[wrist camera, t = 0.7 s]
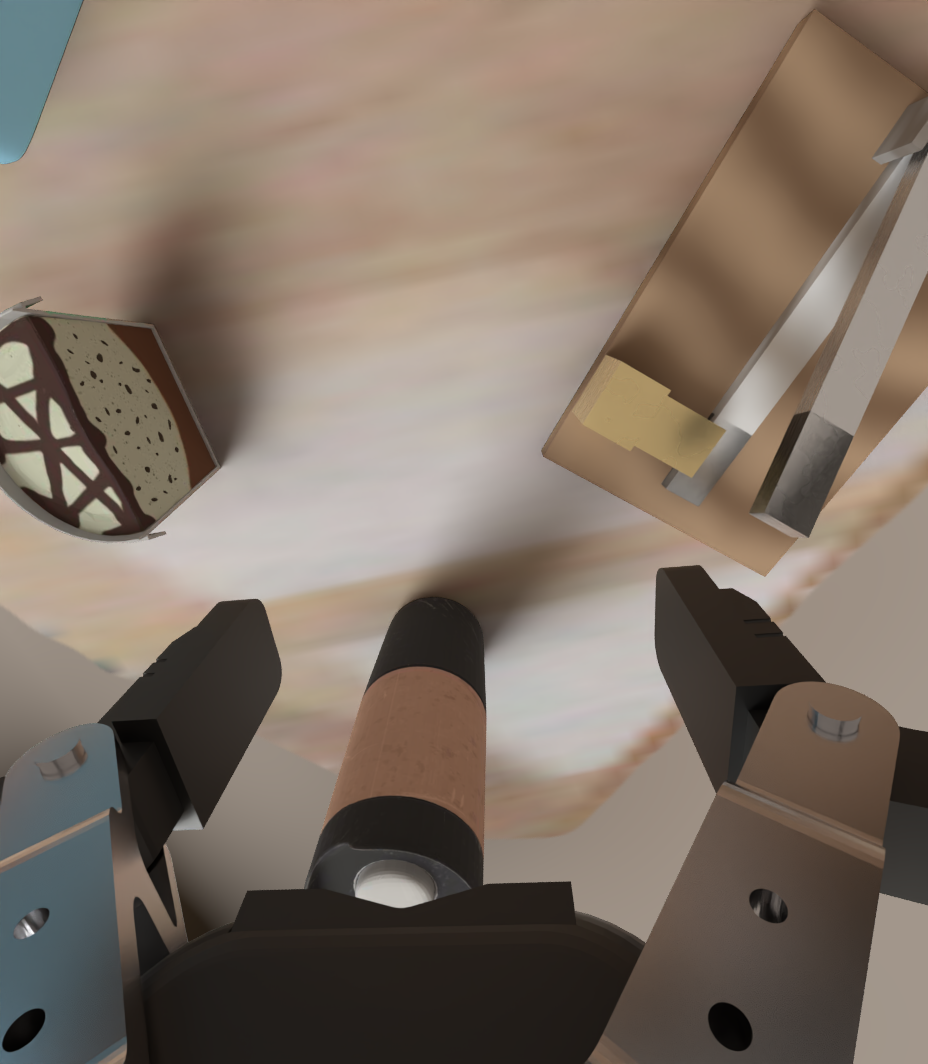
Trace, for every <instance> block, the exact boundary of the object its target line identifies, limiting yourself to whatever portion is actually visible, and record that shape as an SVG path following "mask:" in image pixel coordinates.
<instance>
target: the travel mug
mask: <svg viewBox="0 0 928 1064" xmlns="http://www.w3.org/2000/svg"><path fill="white" fill-rule="evenodd" d="M485 763H486V693H485V667H484V644H483V635H482V630H481V627H480V625H479V623H478V621H477V620H476V618H475V617H474V615H473V614H472V613H471V612H470V611H469V610H468V609H467V608H465V607H464V606H462V605H461V604H459V603H457V602H454V601H452V600H449V599H445V598H437V597H430V598H423V599H419V600H416V601H413V602H411V603H409V604H407V605H406V606H405V607H403V608H402V609H401V610H400V611H399V612H398V613H397V614H396V615H395V617H394V618H393V620H392V622H391V624H390V626H389V629H388V631H387V634H386V636H385V639H384V642H383V644H382V647H381V650H380V652H379V655H378V658H377V660H376V663H375V666H374V669H373V671H372V674H371V677H370V679H369V682H368V685H367V687H366V690H365V693H364V695H363V698H362V701H361V704H360V707H359V711H358V714H357V717H356V720H355V724H354V727H353V730H352V733H351V737H350V740H349V743H348V746H347V750H346V753H345V756H344V759H343V763H342V766H341V769H340V772H339V776H338V779H337V782H336V785H335V789H334V792H333V795H332V798H331V802H330V805H329V808H328V811H327V815H326V818H325V821H324V824H323V828H322V831H321V834H320V838H319V841H318V844H317V847H316V850H315V854H314V857H313V860H312V863H311V867H310V870H309V873H308V876H307V879H306V882H305V887H304V889H327V890H331V891H335V892H338V893H342V894H346V895H350V896H353V897H357V898H361V899H365V900H368V901H372V902H376V903H380V904H383V905H387V906H391V907H396V908H406V907H411V906H414V905H418V904H421V903H424V902H428V901H431V900H435V899H438V898H442V897H445V896H448V895H452V894H455V893H459V892H462V891H466V890H469V889H472V888H476V887H479V886H483V859H484V855H483V854H484V811H485Z"/></svg>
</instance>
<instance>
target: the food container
mask: <svg viewBox="0 0 928 1064" xmlns="http://www.w3.org/2000/svg"><path fill="white" fill-rule="evenodd" d="M40 301H42V298H41V297H37V298H34V299H30V300H27V301H24V302H21V303H18V304H16V305H14V306H12V307H10V308H8V309H6V310H4V311H3V312H2V313H0V489H1V490H2V491H3V492H4V493H5V494H6V495H7V496H8V497H9V498H10V499H11V500H12V501H13V502H14V503H16V504H17V505H18V506H19V507H20V508H21V509H22V510H24V511H25V512H27V513H28V514H30V515H31V516H33V517H34V518H35V519H37V520H38V521H40V522H42V523H44V524H46V525H48V526H49V527H51V528H53V529H55V530H57V531H60V532H62V533H65V534H67V535H70V536H72V537H76V538H80V539H84V540H88V541H93V542H102V543H132V542H139V541H144V540H150V539H153V538H156V537H159V536H162V535H165V534H166V532H165V531H164V532H159V533H153V534H149V533H150V532H151V531H152V530H153V529H155V528H156V527H157V526H158V525H159V524H160V523H161V522H162V521H163V520H164V519H166V518H167V517H168V516H169V515H170V514H171V513H172V512H173V511H174V510H175V509H176V508H178V507H179V506H180V505H181V504H182V503H183V502H184V501H185V500H186V499H187V498H189V497H190V496H191V495H192V494H193V493H194V492H195V491H196V490H197V489H198V488H200V487H201V486H202V485H203V484H204V483H205V482H206V481H207V480H208V479H209V478H211V477H212V476H213V475H214V474H215V473H216V472H217V471H218V470H219V469H220V466H219V463H218V461H217V459H216V457H215V455H214V453H213V451H212V448H211V446H210V444H209V442H208V440H207V438H206V436H205V433H204V431H203V429H202V427H201V425H200V423H199V421H198V419H197V416H196V414H195V412H194V410H193V408H192V406H191V404H190V401H189V399H188V397H187V395H186V393H185V391H184V389H183V386H182V384H181V382H180V380H179V378H178V376H177V374H176V371H175V369H174V367H173V365H172V363H171V361H170V359H169V356H168V354H167V352H166V350H165V348H164V346H163V344H162V342H161V339H160V337H159V335H158V333H157V331H156V329H155V327H154V324H146V323H138V322H130V321H122V320H114V319H106V318H98V317H89V316H81V315H73V314H65V313H57V312H49V311H41V310H32V309H26V308H28V307H30V306H32V305H34V304H36V303H38V302H40Z"/></svg>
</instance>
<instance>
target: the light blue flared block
mask: <svg viewBox="0 0 928 1064" xmlns="http://www.w3.org/2000/svg"><path fill="white" fill-rule="evenodd" d="M82 2H83V0H0V163H1V164H8V163H11V162H14V161H17V160H19V159H20V158H21V157H22V156H23V154H24V153H25V151H26V149H27V147H28V145H29V143H30V141H31V138H32V136H33V133H34V131H35V128H36V126H37V123H38V120H39V118H40V115H41V112H42V110H43V107H44V104H45V102H46V99H47V96H48V93H49V91H50V88H51V85H52V83H53V80H54V77H55V75H56V72H57V69H58V66H59V64H60V61H61V58H62V56H63V53H64V50H65V48H66V45H67V42H68V39H69V37H70V34H71V31H72V29H73V26H74V23H75V21H76V18H77V15H78V12H79V10H80V7H81V4H82Z"/></svg>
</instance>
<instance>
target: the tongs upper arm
mask: <svg viewBox="0 0 928 1064" xmlns="http://www.w3.org/2000/svg"><path fill="white" fill-rule="evenodd" d="M927 272H928V142H927V144H926V145H925V146H924V148H923V149H922V150H920V151H918V152H915V153H913V155H912V157H911V159H910V162H909V164H908V166H907V168H906V170H905V172H904V175H903V177H902V179H901V181H900V183H899V186H898V188H897V190H896V192H895V194H894V197H893V199H892V201H891V203H890V205H889V207H888V210H887V212H886V214H885V216H884V218H883V221H882V223H881V225H880V227H879V229H878V232H877V234H876V236H875V238H874V240H873V242H872V245H871V247H870V249H869V251H868V253H867V256H866V258H865V260H864V262H863V264H862V267H861V269H860V271H859V273H858V275H857V277H856V280H855V282H854V284H853V286H852V288H851V291H850V293H849V295H848V297H847V299H846V302H845V304H844V306H843V308H842V310H841V312H840V315H839V317H838V319H837V321H836V323H835V326H834V328H833V330H832V332H831V334H830V337H829V339H828V341H827V343H826V345H825V348H824V350H823V352H822V354H821V356H820V358H819V361H818V363H817V365H816V367H815V369H814V372H813V374H812V376H811V378H810V380H809V383H808V385H807V387H806V389H805V391H804V393H803V396H802V398H801V400H800V402H799V404H798V407H797V409H796V411H795V413H794V415H793V418H792V420H791V422H790V424H789V426H788V428H787V431H786V433H785V435H784V437H783V439H782V442H781V444H780V446H779V448H778V450H777V453H776V455H775V457H774V459H773V461H772V463H771V466H770V468H769V470H768V472H767V474H766V477H765V479H764V481H763V483H762V485H761V488H760V490H759V492H758V494H757V496H756V498H755V501H754V503H753V505H752V507H751V509H750V512H749V514H751V515H752V516H754V517H756V518H758V519H760V520H761V521H763V522H765V523H767V524H768V525H770V526H772V527H774V528H776V529H777V530H779V531H781V532H783V533H784V534H786V535H788V536H790V537H798V538H809V536H810V533H811V531H812V529H813V527H814V525H815V522H816V520H817V518H818V516H819V513H820V511H821V509H822V507H823V504H824V502H825V500H826V498H827V495H828V493H829V491H830V489H831V486H832V484H833V482H834V480H835V478H836V475H837V473H838V471H839V469H840V466H841V464H842V462H843V460H844V457H845V455H846V453H847V451H848V448H849V446H850V444H851V442H852V440H853V437H854V435H855V433H856V431H857V428H858V426H859V424H860V422H861V419H862V417H863V415H864V413H865V410H866V408H867V406H868V404H869V402H870V399H871V397H872V395H873V393H874V390H875V388H876V386H877V384H878V381H879V379H880V377H881V375H882V372H883V370H884V368H885V366H886V363H887V361H888V359H889V357H890V355H891V352H892V350H893V348H894V346H895V343H896V341H897V339H898V337H899V334H900V332H901V330H902V328H903V325H904V323H905V321H906V319H907V317H908V314H909V312H910V310H911V308H912V305H913V303H914V301H915V299H916V296H917V294H918V292H919V290H920V287H921V285H922V283H923V281H924V279H925V276H926V274H927Z"/></svg>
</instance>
